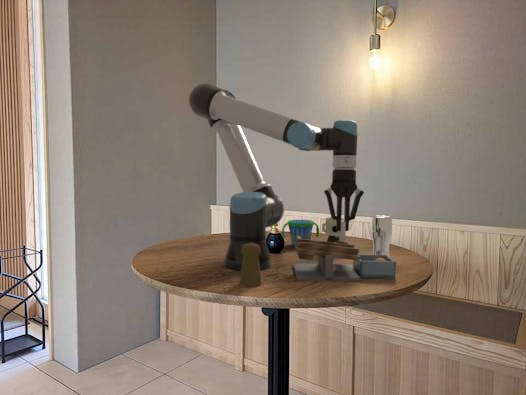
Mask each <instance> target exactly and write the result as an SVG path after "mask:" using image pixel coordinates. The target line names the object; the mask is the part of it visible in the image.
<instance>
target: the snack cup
mask: <svg viewBox="0 0 526 395" xmlns="http://www.w3.org/2000/svg"><path fill="white" fill-rule="evenodd" d="M287 226H288V228H289V236H290V243H291V246H294V247H295V242H296V236H301V239H309V240H312V239H311V238H312V234H313V233H312V231H313V228H314V226H316V228H315V229H316V234H315V237H316V238H318V237H320V228H319V225H318V224H317V223H316V222H315V221H313V220H310V219H290V220H288V221H287V222H286V223H285V224H283V227H282V229H281V235H282V236H281V237H282V238H283V239H285V238H286V236H285V228H286V227H287Z"/></svg>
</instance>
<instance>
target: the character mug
mask: <svg viewBox="0 0 526 395" xmlns="http://www.w3.org/2000/svg"><path fill="white" fill-rule="evenodd" d="M341 221H344V217H341ZM321 225H322V227H321V231H322V232H323V233H324V234H325V235H327V236H328V237H327V240H326V242H337V241H340V240H339V231H337V229H336V225H337V221H336V220H334V219H332V218H331V216H330V217H326V218H325V223H322V224H321Z"/></svg>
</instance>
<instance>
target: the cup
mask: <svg viewBox="0 0 526 395" xmlns="http://www.w3.org/2000/svg"><path fill="white" fill-rule="evenodd" d="M358 255H359V256H360V261H359V260H353V263H352V265H353V267H352V268H353V269H354V270H355V271H356V273H357V274H358V275H359V276H360V277H361V279H384V280H385V279H386V280H387V279H389V280H390V279H391V280H393V279H394V280H395V279H396V271H397V270H396V269H397V268H396V265H397V263H396V260H394V259H393V258H391V257H389V256H390V255H389V256H387V255H372V254H359V253H358ZM378 258H383V259H385V260H386V261H375V260H376V259H378Z"/></svg>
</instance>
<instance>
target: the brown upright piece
mask: <svg viewBox="0 0 526 395" xmlns="http://www.w3.org/2000/svg"><path fill="white" fill-rule="evenodd" d="M260 251H261V249H260V246H259V245H258V244H254V243H248V244H244V245H243V246H242V249H241V252H242V254H243V262H242V269H241V270H240V277H239V278H240V279H239V283H240V284H241V285H240V284H239V285H240V286H242V285H244V286H243V287H246V286H255V287H259V285H260V286H261V285H262V276H261V269H260V266H259V257H258V256H259V254H260Z"/></svg>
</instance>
